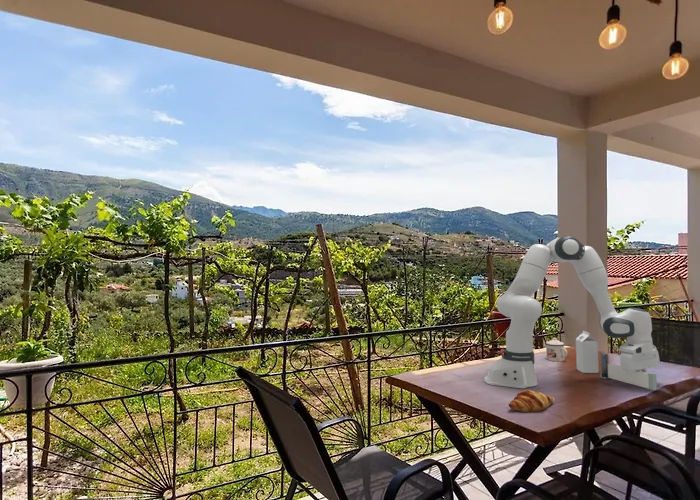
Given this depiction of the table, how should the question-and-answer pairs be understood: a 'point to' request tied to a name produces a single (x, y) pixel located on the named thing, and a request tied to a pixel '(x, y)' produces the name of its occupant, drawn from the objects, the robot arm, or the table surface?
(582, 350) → the milk carton
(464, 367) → the table surface
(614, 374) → the gate
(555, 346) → the teacup with lid
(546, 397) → the croissant
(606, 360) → the hinge post
